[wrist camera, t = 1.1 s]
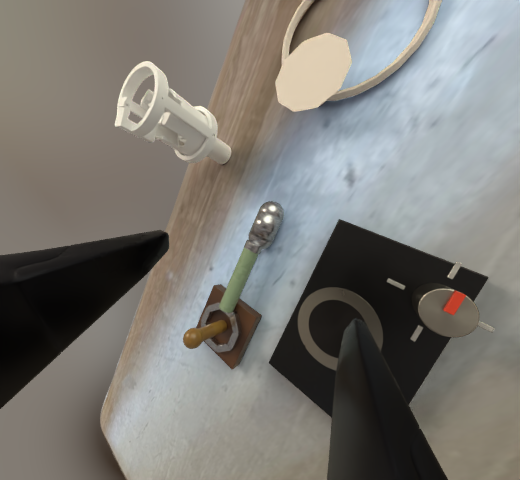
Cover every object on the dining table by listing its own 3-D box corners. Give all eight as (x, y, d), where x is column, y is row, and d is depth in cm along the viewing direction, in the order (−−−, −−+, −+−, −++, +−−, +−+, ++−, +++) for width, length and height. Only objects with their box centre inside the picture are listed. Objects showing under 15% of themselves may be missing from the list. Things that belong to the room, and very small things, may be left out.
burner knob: (447, 330, 17) (465, 349, 14) (404, 308, 19) (409, 319, 15) (469, 296, 17) (493, 306, 13) (422, 275, 18) (432, 280, 15)
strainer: (202, 174, 36) (99, 126, 23) (212, 132, 35) (113, 58, 22) (235, 179, 32) (135, 125, 19) (247, 132, 32) (153, 44, 19)
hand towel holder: (502, -141, 16) (373, 124, 19) (478, -65, 20) (374, 146, 23) (306, -78, 24) (237, 102, 27) (316, -33, 28) (254, 121, 31)
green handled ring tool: (236, 355, 30) (220, 366, 27) (207, 327, 33) (189, 335, 30) (302, 213, 27) (291, 207, 24) (263, 197, 29) (249, 190, 26)
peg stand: (238, 365, 29) (195, 397, 23) (201, 329, 33) (154, 347, 26) (262, 315, 28) (224, 333, 21) (220, 284, 32) (176, 291, 25)
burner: (357, 390, 20) (357, 391, 20) (286, 336, 24) (285, 337, 24) (400, 317, 19) (400, 318, 19) (317, 272, 23) (317, 272, 22)
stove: (395, 451, 20) (397, 476, 18) (277, 354, 27) (267, 363, 24) (503, 283, 18) (522, 286, 15) (343, 220, 24) (339, 216, 22)
